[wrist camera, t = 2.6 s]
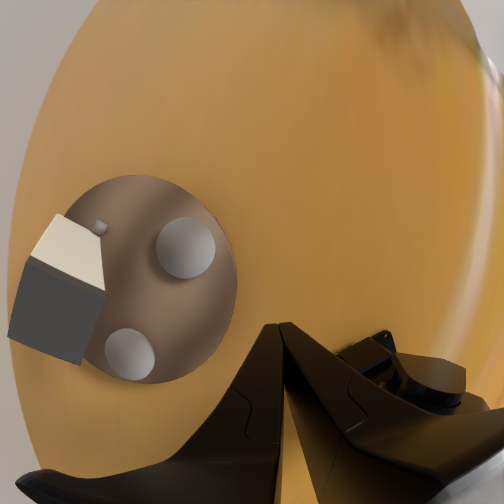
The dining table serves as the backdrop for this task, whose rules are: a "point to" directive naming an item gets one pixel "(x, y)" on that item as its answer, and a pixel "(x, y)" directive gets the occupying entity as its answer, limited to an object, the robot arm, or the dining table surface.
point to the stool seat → (156, 279)
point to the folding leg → (60, 292)
